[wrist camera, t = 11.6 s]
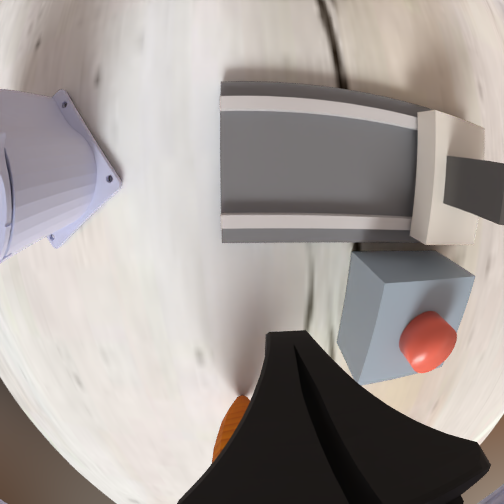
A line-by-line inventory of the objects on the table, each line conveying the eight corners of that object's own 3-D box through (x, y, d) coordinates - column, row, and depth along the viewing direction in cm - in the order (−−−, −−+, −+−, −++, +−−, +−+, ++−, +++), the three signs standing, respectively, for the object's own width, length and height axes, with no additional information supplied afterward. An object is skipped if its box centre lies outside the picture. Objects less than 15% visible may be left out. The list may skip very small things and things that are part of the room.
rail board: (222, 238, 18) (221, 246, 17) (221, 85, 15) (220, 78, 14) (453, 239, 19) (465, 245, 18) (462, 122, 16) (475, 122, 14)
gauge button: (392, 358, 16) (404, 377, 14) (407, 314, 15) (423, 331, 13) (431, 350, 16) (445, 366, 14) (447, 308, 15) (463, 323, 13)
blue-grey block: (336, 342, 22) (357, 385, 17) (351, 251, 19) (384, 283, 14) (413, 331, 22) (441, 366, 17) (435, 250, 20) (475, 276, 15)
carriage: (409, 235, 17) (476, 277, 10) (417, 112, 14) (493, 104, 7) (457, 236, 17) (521, 271, 10) (466, 127, 14) (537, 131, 8)
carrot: (217, 411, 24) (211, 549, 10) (213, 378, 23) (202, 540, 9) (267, 411, 25) (282, 548, 10) (270, 377, 23) (291, 539, 9)
